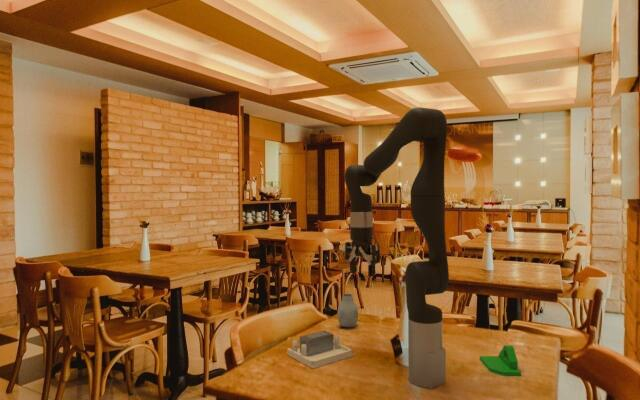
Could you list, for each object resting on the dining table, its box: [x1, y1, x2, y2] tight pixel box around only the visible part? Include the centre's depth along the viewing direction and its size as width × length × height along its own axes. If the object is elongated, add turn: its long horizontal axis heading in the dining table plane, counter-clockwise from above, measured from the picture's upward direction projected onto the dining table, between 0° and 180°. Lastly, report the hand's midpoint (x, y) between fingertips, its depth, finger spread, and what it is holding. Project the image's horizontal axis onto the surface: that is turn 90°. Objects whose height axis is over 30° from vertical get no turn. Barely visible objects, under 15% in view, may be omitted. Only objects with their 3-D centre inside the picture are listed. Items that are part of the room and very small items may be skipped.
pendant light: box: [336, 248, 359, 328], centre depth 173 cm, size 8×8×30 cm
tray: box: [286, 331, 354, 369], centre depth 144 cm, size 14×16×5 cm
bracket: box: [479, 344, 522, 377], centre depth 133 cm, size 12×8×7 cm, turn 178°
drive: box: [299, 330, 335, 357], centre depth 146 cm, size 5×10×5 cm, turn 127°
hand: (362, 274), depth 148 cm, fingers open, 8 cm apart
